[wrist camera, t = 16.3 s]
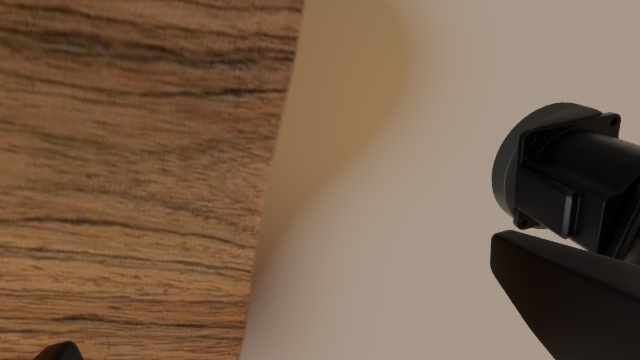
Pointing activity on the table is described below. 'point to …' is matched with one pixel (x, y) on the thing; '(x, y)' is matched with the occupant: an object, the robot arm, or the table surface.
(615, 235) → the robot arm
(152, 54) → the table surface
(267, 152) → the table surface
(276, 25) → the table surface
